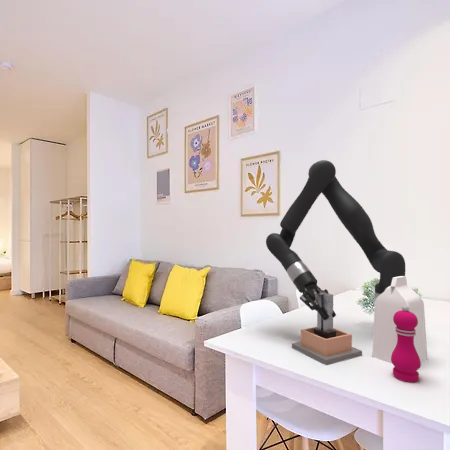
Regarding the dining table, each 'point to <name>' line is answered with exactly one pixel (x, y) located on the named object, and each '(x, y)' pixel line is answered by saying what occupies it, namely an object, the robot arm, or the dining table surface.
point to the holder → (326, 346)
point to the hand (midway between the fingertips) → (330, 317)
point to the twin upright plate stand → (326, 326)
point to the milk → (385, 325)
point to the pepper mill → (405, 347)
